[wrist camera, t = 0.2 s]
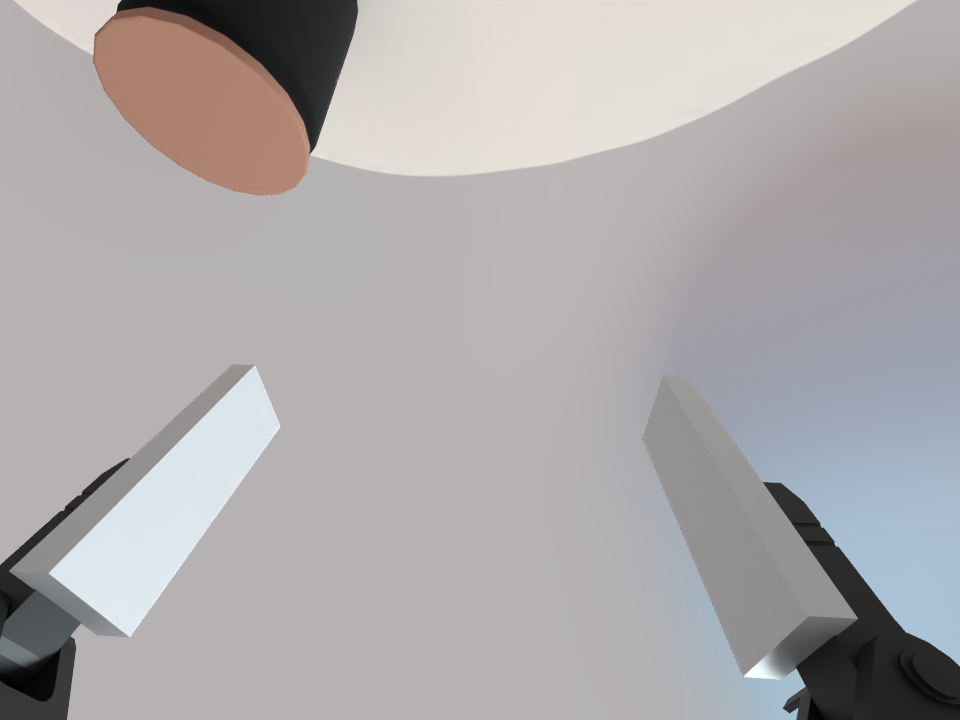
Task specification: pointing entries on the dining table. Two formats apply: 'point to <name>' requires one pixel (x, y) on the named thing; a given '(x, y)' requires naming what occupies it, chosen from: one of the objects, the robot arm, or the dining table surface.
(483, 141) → the dining table surface
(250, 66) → the coffee jar
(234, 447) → the robot arm
